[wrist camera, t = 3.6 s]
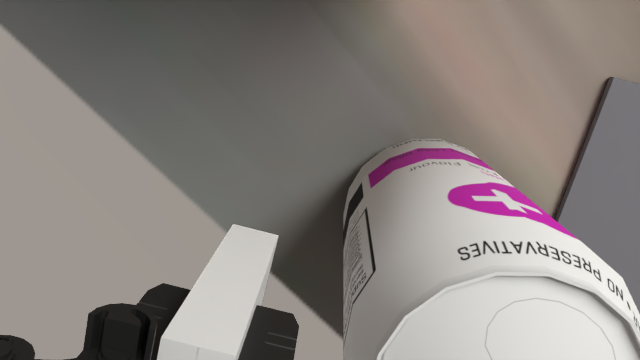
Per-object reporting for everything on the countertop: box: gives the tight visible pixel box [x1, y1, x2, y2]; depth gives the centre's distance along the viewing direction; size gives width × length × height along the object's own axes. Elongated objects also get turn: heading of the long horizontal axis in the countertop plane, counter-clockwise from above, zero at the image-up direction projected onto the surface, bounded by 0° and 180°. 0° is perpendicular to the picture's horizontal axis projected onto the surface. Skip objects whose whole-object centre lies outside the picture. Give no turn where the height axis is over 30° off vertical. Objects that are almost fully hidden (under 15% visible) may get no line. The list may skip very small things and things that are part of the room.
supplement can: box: [343, 139, 640, 360], centre depth 20 cm, size 8×8×15 cm
